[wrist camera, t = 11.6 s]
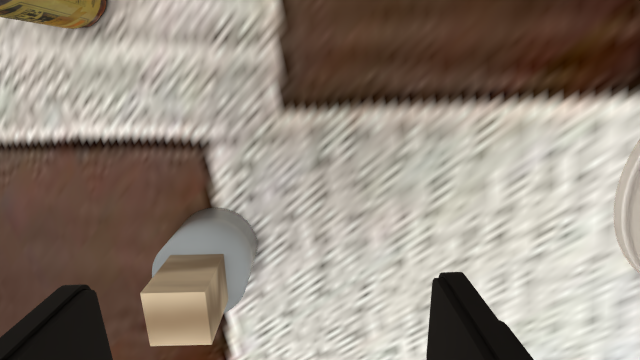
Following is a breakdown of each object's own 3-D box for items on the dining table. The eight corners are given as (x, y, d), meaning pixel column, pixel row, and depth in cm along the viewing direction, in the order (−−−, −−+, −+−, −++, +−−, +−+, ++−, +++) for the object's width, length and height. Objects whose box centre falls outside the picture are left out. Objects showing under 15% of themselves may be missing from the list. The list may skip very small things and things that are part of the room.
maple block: (170, 254, 33) (140, 293, 27) (223, 253, 33) (205, 292, 27) (177, 300, 34) (150, 345, 29) (228, 299, 34) (211, 344, 29)
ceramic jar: (173, 208, 39) (144, 237, 32) (254, 206, 39) (242, 234, 32) (184, 279, 42) (160, 318, 35) (260, 276, 42) (250, 315, 35)
